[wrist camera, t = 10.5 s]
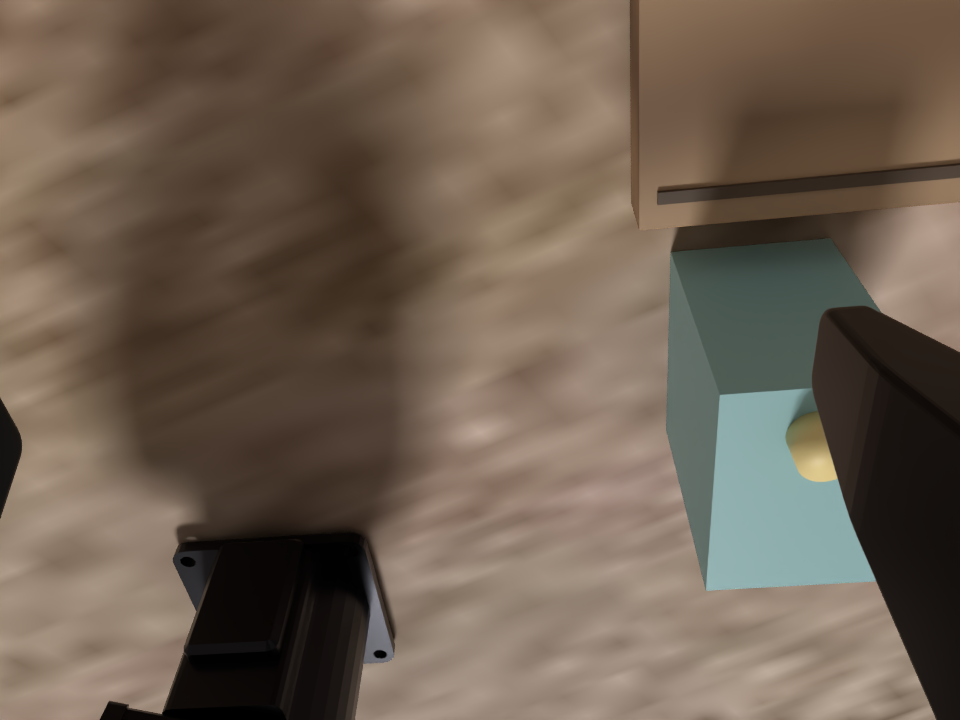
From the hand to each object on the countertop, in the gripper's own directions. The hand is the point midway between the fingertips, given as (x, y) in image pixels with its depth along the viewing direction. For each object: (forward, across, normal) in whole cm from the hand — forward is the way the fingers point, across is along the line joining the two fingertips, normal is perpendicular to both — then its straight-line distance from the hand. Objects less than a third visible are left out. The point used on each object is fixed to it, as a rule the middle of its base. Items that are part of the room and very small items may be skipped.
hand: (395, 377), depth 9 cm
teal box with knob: (+12, -7, +8) cm, 16 cm away
